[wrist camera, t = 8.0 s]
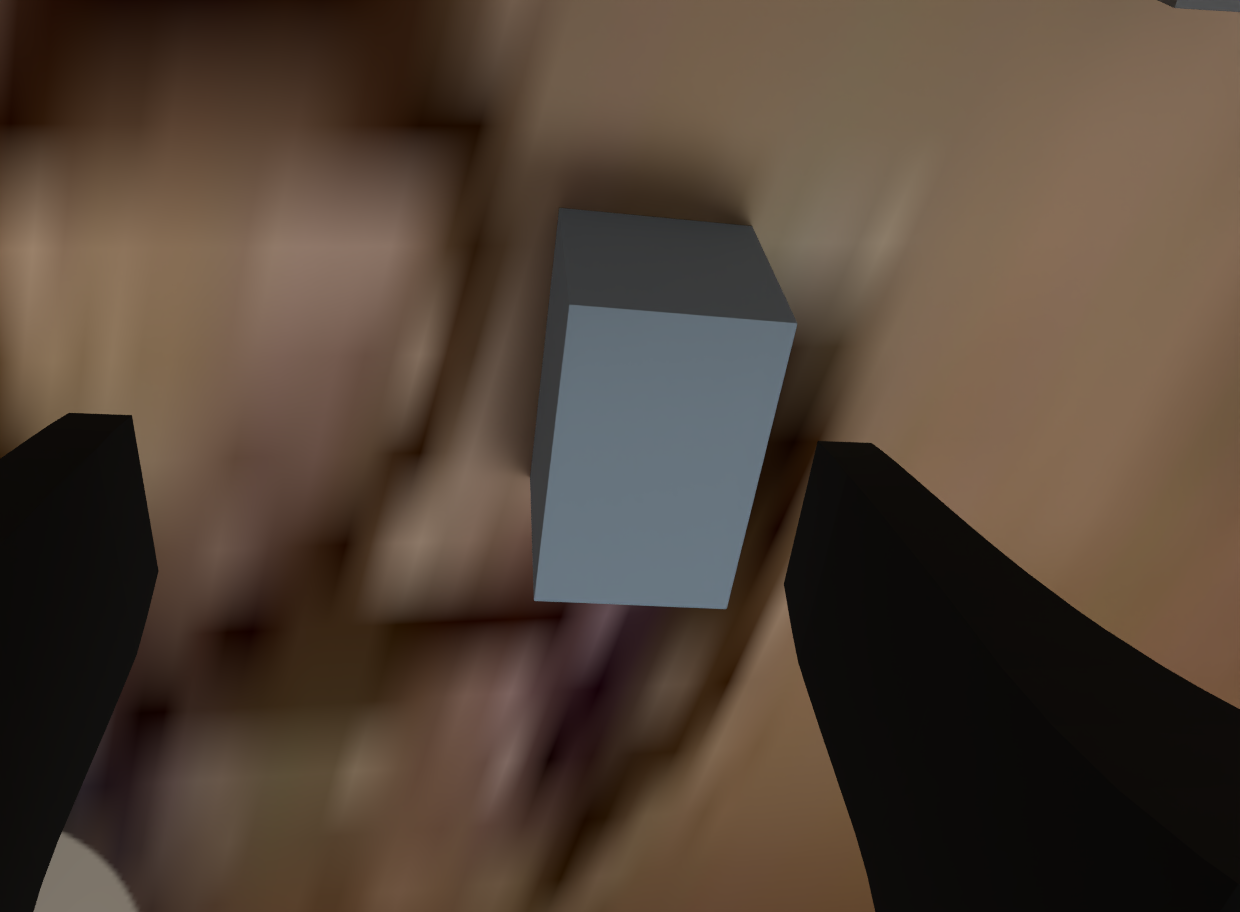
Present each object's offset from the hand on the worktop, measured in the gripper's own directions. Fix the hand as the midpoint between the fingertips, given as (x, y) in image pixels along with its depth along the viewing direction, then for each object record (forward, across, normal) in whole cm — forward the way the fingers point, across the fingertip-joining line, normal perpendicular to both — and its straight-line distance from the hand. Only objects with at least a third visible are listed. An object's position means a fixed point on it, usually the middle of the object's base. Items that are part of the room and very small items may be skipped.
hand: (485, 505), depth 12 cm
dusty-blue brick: (+10, -3, +3) cm, 11 cm away
